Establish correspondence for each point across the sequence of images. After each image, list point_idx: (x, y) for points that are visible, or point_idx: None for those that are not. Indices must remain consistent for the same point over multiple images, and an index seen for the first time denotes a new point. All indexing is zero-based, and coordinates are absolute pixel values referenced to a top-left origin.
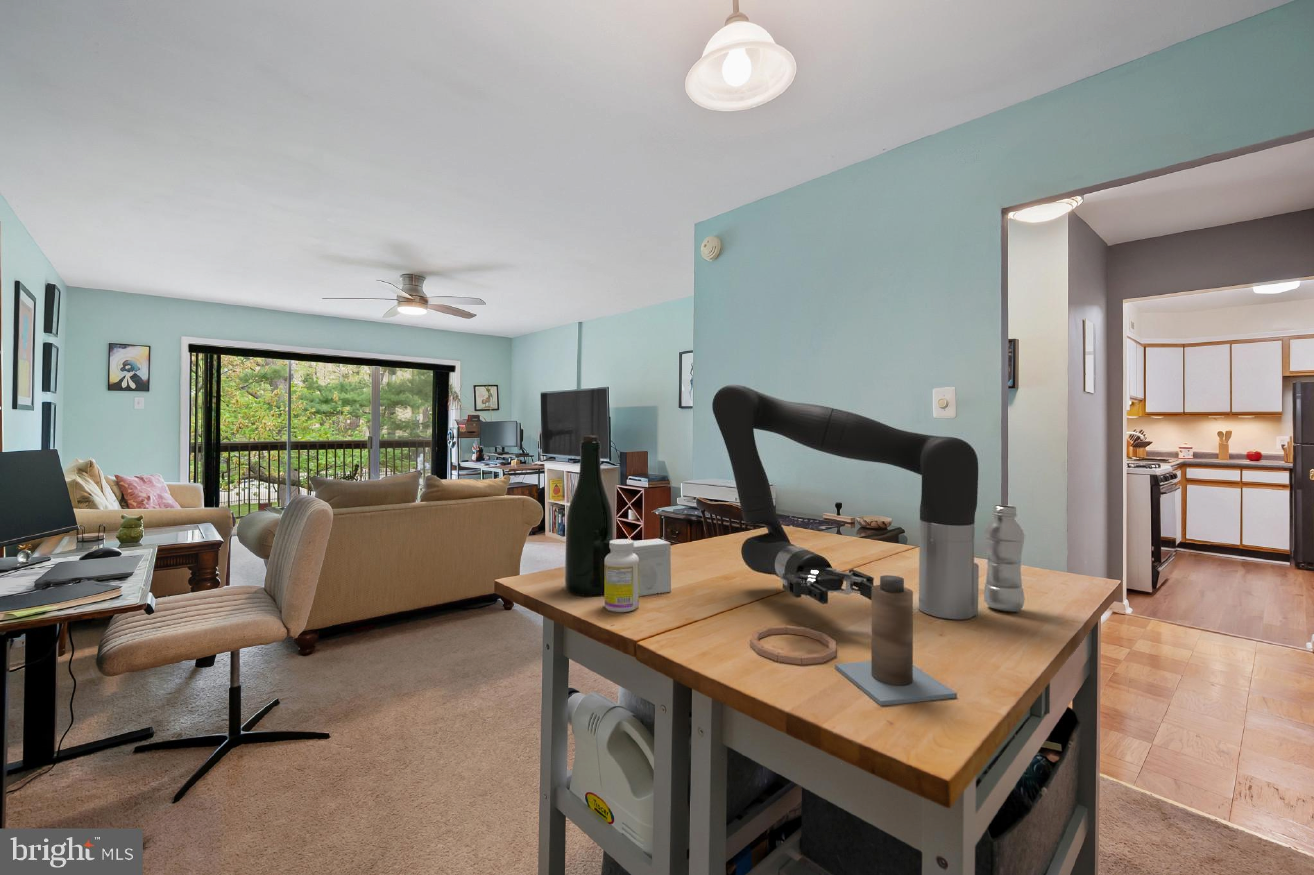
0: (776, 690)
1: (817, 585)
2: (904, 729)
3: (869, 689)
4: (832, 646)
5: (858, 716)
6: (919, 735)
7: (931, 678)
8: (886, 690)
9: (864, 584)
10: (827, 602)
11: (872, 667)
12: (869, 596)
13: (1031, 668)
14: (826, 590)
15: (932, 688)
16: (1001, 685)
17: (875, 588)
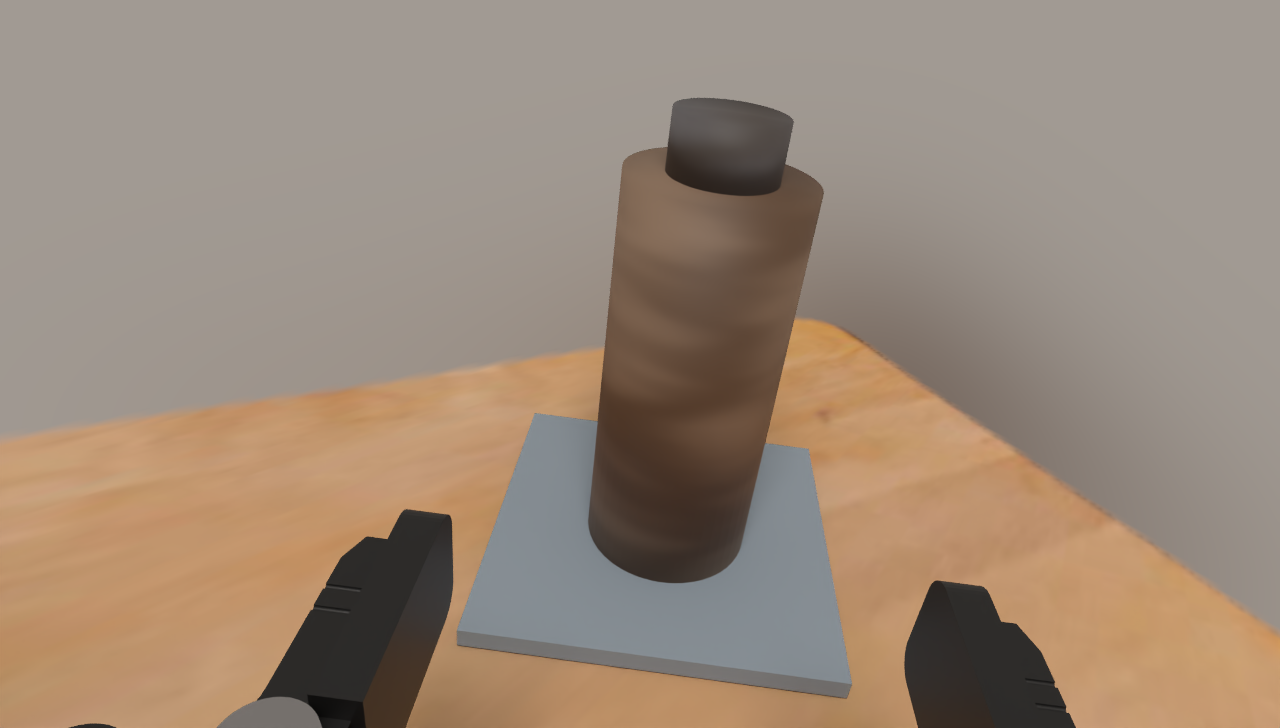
0: (1162, 622)
1: (1015, 723)
2: (804, 393)
3: (806, 496)
4: None
5: (898, 450)
6: (782, 375)
7: (521, 481)
8: None
9: (395, 638)
10: (907, 652)
11: (746, 521)
12: (434, 630)
13: (12, 452)
14: (947, 583)
15: (584, 446)
16: (307, 424)
17: (796, 198)
